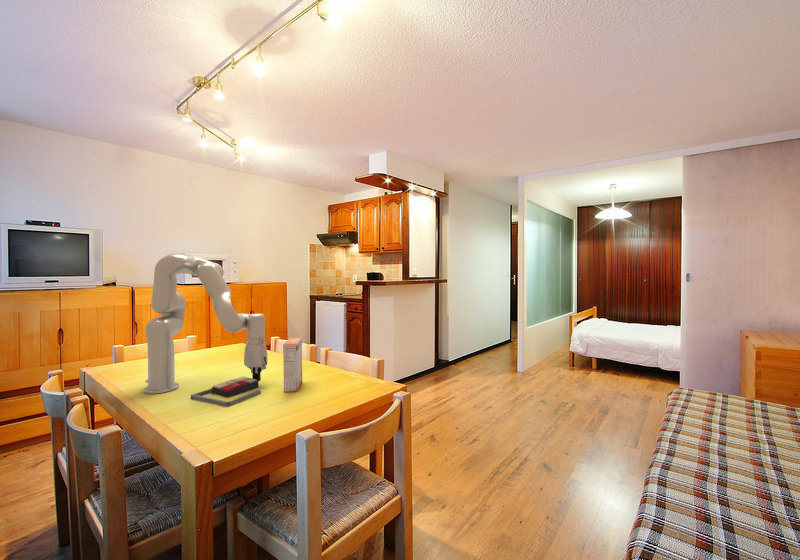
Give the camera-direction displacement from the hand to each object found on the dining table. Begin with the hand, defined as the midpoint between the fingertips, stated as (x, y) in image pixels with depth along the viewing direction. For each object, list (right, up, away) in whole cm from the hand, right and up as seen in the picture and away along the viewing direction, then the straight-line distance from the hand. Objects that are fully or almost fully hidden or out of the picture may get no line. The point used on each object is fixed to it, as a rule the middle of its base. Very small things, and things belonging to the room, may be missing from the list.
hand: (256, 381), depth 156 cm
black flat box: (-6, -3, -7) cm, 10 cm away
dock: (-6, -2, -14) cm, 15 cm away
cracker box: (+17, -2, -2) cm, 18 cm away
